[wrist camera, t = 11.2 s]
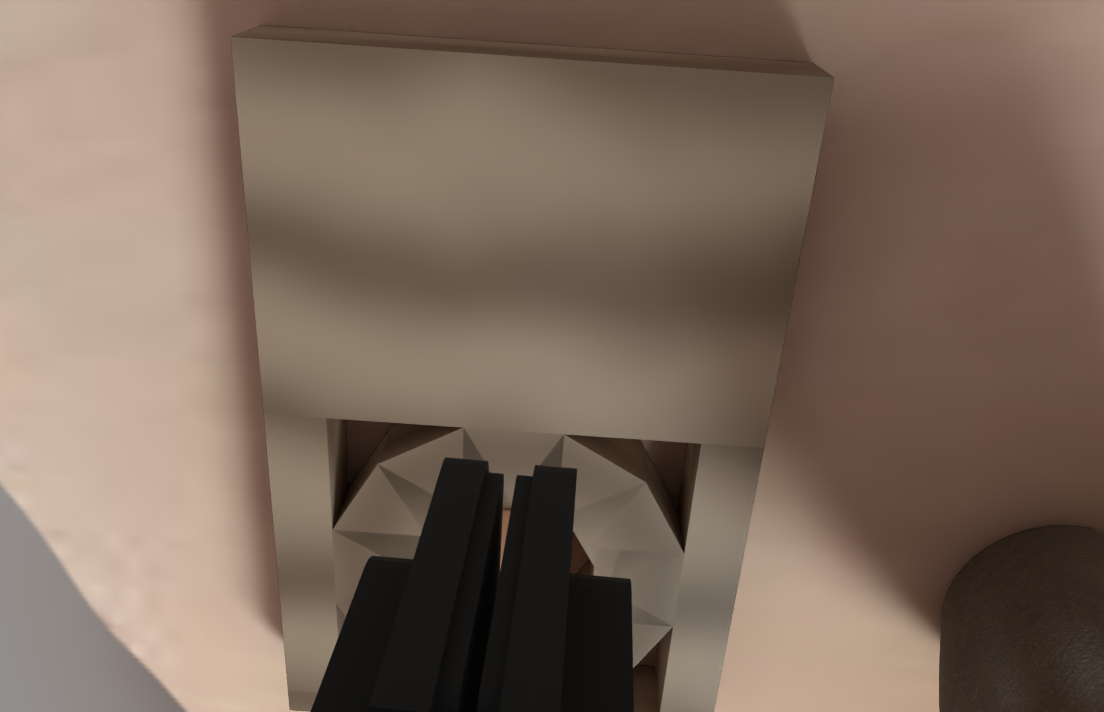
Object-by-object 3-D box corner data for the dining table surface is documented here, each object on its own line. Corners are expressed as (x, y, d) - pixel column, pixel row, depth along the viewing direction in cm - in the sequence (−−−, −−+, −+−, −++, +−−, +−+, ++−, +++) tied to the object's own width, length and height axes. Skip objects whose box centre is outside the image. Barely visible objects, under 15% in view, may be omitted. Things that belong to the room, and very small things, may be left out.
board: (259, 25, 27) (230, 37, 25) (813, 62, 27) (834, 77, 25) (307, 661, 38) (289, 710, 35) (701, 688, 38) (709, 738, 35)
